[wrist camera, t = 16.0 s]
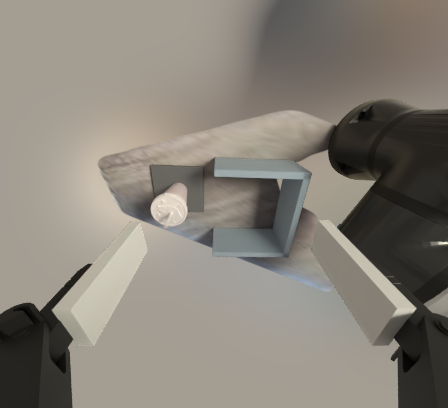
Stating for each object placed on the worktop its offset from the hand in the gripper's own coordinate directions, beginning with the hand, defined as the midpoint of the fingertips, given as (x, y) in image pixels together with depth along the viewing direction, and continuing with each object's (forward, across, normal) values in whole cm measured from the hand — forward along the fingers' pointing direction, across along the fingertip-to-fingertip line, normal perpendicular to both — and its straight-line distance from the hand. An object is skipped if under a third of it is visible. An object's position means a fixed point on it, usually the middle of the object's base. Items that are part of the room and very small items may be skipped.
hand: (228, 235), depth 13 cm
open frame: (+27, +5, -10) cm, 29 cm away
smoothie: (+26, -11, -7) cm, 29 cm away
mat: (+27, -11, -7) cm, 30 cm away
